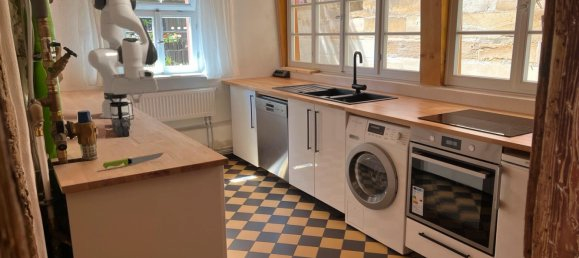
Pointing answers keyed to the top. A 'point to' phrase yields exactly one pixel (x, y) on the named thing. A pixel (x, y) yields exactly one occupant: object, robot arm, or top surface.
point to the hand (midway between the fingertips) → (136, 102)
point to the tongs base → (119, 125)
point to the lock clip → (101, 130)
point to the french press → (119, 105)
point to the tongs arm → (125, 128)
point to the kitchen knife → (132, 160)
